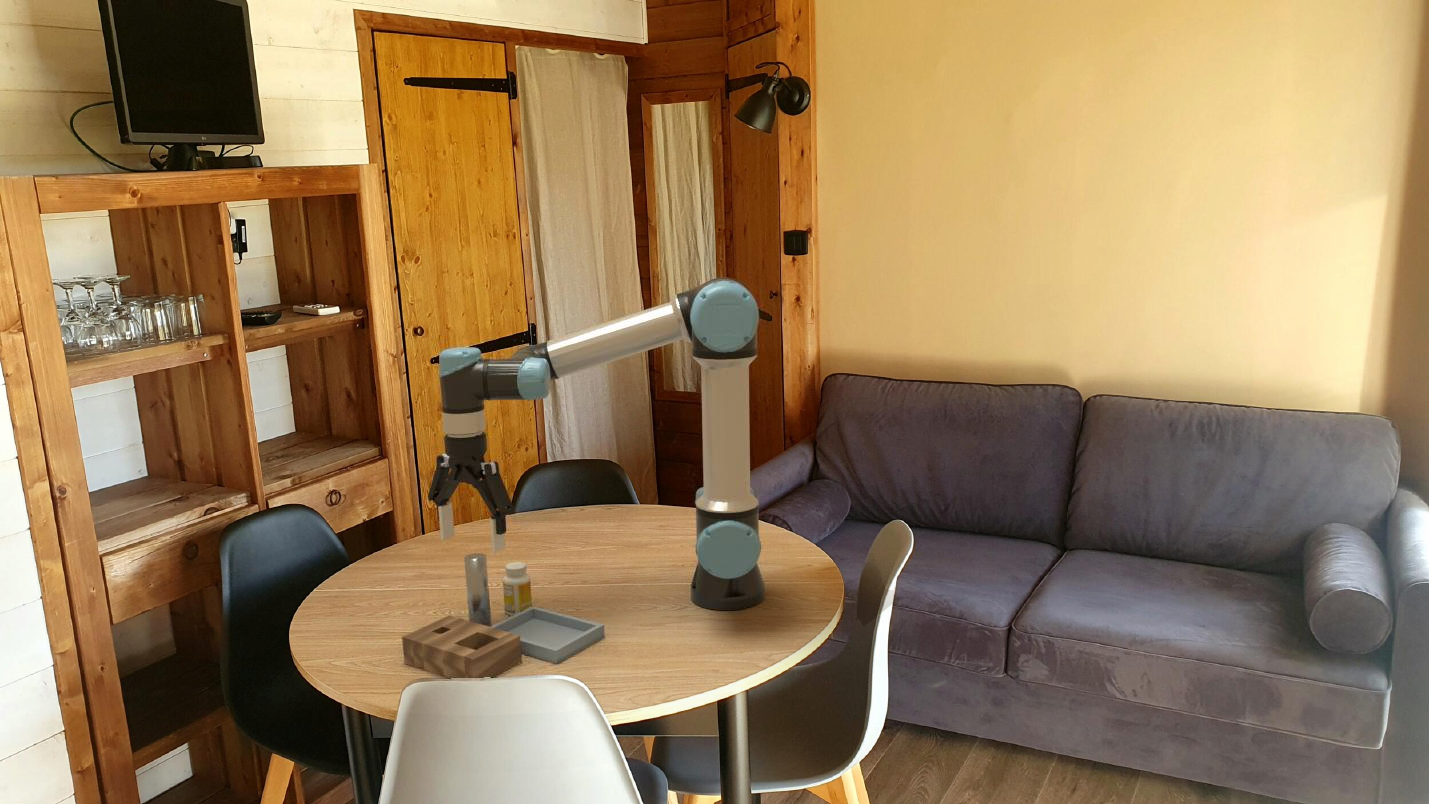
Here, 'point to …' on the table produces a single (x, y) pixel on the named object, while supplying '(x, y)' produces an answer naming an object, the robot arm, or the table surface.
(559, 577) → the table surface
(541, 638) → the tray
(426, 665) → the wooden peg board
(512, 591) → the supplement bottle
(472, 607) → the cylinder
